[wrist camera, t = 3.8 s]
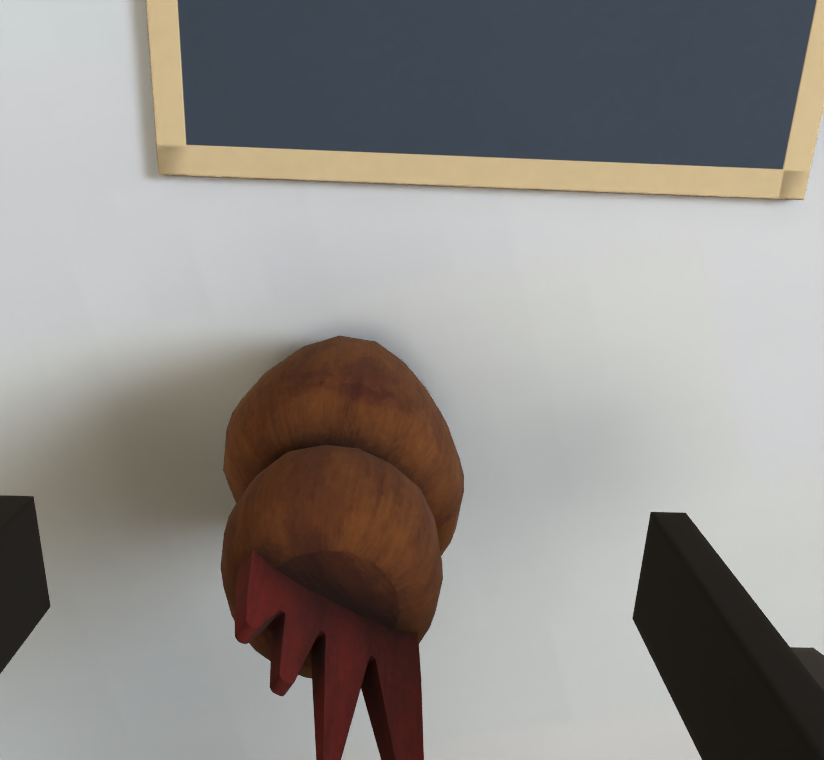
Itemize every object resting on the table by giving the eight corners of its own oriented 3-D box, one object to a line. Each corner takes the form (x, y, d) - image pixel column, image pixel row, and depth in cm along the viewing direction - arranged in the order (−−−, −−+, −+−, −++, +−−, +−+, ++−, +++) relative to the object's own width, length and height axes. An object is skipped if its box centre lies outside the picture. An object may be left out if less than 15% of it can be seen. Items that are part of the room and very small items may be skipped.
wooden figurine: (477, 436, 25) (601, 837, 10) (345, 520, 25) (290, 996, 11) (365, 279, 23) (326, 505, 8) (226, 376, 24) (-21, 729, 9)
